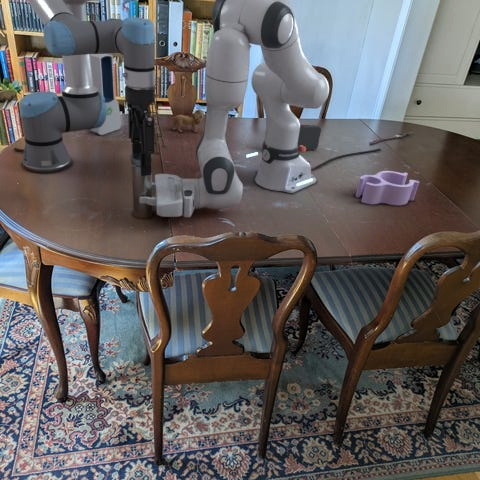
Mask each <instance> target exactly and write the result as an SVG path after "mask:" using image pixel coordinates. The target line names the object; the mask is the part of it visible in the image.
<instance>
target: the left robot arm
mask: <svg viewBox="0 0 480 480" xmlns="http://www.w3.org/2000/svg"><path fill="white" fill-rule="evenodd" d="M26 1H27V2H28V4H29V5H30V7H31V9H32V10H33V11H34V13H35V14H36V16H37V17H38V18H39V20H40V21H41V23H42V25H43V39H44V43H45V45H46V49H47V51H48V52H49V53H50V54H51V55H52V56H61V57H62V64H63V72H64V80H65V81H64V82H65V84H64V86H63V87H62V88H61V95H58V94H57V93H56V92H54V91H43V90H41V91H36V92H32V93H28V94H26V95H24V96H23V97H21V99H20V100H19V103H18V104H19V116H20V119H21V125H22V132H23V137H24V148H17V147H14V149H13V150H14V151H16V152H20V153H22V158H21V159H22V160H21V161H22V166H23V168H24V169H25V170H27V171H29V172H33V173H39V174H46V173H56V172H61V171H63V170H66V169H67V168H69V167H70V166H71V163H72V159H71V155H70V153H69V151H68V150H67V149H68V148H67V147H66V145H65V143H64V140H63V134H64V133H71V132H81V131H87V130H88V131H89V130H91V129H94V128H99V127H101V126H102V125H103V124H104V122H105V119H106V113H107V108H106V103H105V98H104V96H103V95H102V94H101V93H99V92H98V88H97V87H96V86H95V85H94V84H93V79H92V68H91V58H90V54H120V55H123V73H122V75H121V76H122V77H123V79H124V84H125V86H124V100H125V102H126V106H127V115H128V117H127V119H128V121H127V122H128V125H127V126H128V139H129V140H130V142H131V151H132V152H131V153H132V154H133V153H137V152H139V154H140V159H141V176H147V175H151V155H154V154H156V147H155V144H154V143H155V136H154V121H156V119H155V117H150V116H152V113H150V112H151V110H150V106H151V105H150V104H152V103H154V102H156V98H155V94H156V90H155V88H154V87H153V86H155V83H156V82H155V81H156V80H155V79H156V78H155V77H156V76H155V74H156V71H155V69H156V68H155V67H156V34H155V24H154V22H153V21H152V20H150V19H148V18H144V17H132V16H131V17H126V18H124V19H121V18H114V17H110V18H107V19H105V20H88V16H87V7H86V6H87V5H86V4H87V3H88V1H89V0H26ZM139 142H140V143H139ZM132 154H131V155H132Z"/></svg>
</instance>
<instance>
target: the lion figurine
mask: <svg viewBox="0 0 480 480" xmlns="http://www.w3.org/2000/svg"><path fill="white" fill-rule="evenodd" d="M204 116H205V112H204V110H202V109H199V108H198V109H196V110H195V111H194V112H193V113H191V114H190V115H183V114H178V115H175V117H174V118H173V119H172V124H171V127H170V128H169V131H172V130H176V129H177V130H178V132H179V133H183V130H182V129H181V127H182V124H184V125H186V126H190V129H191V131H193V133H197V132H198V131H197V130H196V129H197V125H200V124H201V123H202V122H203V120H204V118H205V117H204ZM176 126H177V128H176Z"/></svg>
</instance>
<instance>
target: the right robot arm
mask: <svg viewBox="0 0 480 480" xmlns="http://www.w3.org/2000/svg"><path fill="white" fill-rule="evenodd" d="M211 22H212V27H213V32H214V33H213V35H212V36H211V39H210V43H209V47H208V51H207V55H206V61H205V71H204V96H205V102H206V103H205V104H206V112H205V113H206V114H205V120H204V121H205V122H204V129H203V133H202V136H201V138H200V140H199V141H198V143H197V145H196V149H195V156H196V160H197V162H198V166H199V170H200V173H201V177H200V178H182V177H181V176H178V175H177V174H170V173H157V174H155V175H154V182H152V192H154V193H155V194H154V195H155V196H152V198H150V197H146V195H143V196H142V195H141V196H139V202H140V203H146V204H149V205H152V207H153V206H154V207H155V208H156V215H157V216H160V217H164V218H179V217H182V216H183V218H191V217H192V215H193V213H194V211H195V210H199V209H203V208H204V209H205V208H208V209H211V210H214V209H215V210H217V209H230V208H234V207H237V206H238V205H239V204H240V203H241V202H242V199H243V196H244V183H243V182H242V181H241V180H240V178H239V176H238V174H237V171H236V168H235V164H234V162H233V159H232V156H231V154H230V148H229V146H228V141H227V139H226V132H227V127H228V120H229V115H230V112H231V111H233V110H235V109H237V108H238V107H240V106H241V105H242V104H243V103H244V100H245V96H246V92H247V89H248V82H249V76H250V75H249V74H250V63H251V62H250V61H251V60H250V57H251V56H250V55H251V54H250V53H251V52H250V51H251V48H252V45H255V46H260V50H261V54H262V58H263V61H264V62H261V63H259V64H258V65H257V66H256V67H255V68H254V70H253V71H252V75H251V79H250V82H251V87H252V90H253V92H254V93H255V94H256V95H257V97H258V98H259V100H260V102H261V104H262V107H263V110H264V113H265V133H264V140H263V142H262V147H261V148H262V149H261V159H260V163H259V166H258V169H257V172H256V175H255V177H254V181H255V183H256V184H257V185H259V186H260V187H262V188H264V189H266V190H270V191H277V192H284V193H288V194H294V193H296V192H299V191H301V190H302V189H305V188H307V187H309V186H311V185H313V184H316V183H317V178H316V177H315V176H314V175H313V174H312V171H315V170H318V169H319V168H321V167H322V166H324V165H326V164H328V163H329V162H332V161H334V160H337V159H341V158H344V157H349V156H354V155H361V154H368V153H373V152H378V151H381V150H382V148H376V149H370V150H365V151H358V152H351V153H345V154H342V155H339V156H335V157H332V158H329V159H327V160H325V161H324V162H322V163H320V164H319V165H317V166H315V167H314V168H312V166H311V161H309V160H307V159H305V158H304V157H303V156H302V155H301V154H300V152H301V153H305V152H306V151H307V150H306V148H305V147H304V146H303V145H300V146H299V145H298V144H297V143H298V137H299V131H300V125H301V123H300V120H299V118H298V117H297V116H296V115H295V114H294V113H293V112H292V110H291V108H290V106H293V107H297V108H301V109H314V110H316V109H319V108H320V107H322V106H323V105H324V104H325V102H326V101H327V100H328V97H329V93H330V85H329V81H328V80H327V78H326V77H325V76H324V75H322V74H321V73H320V72H318V71H317V69H315V68H314V67H313V66H312V64H311V63H310V61H309V60H308V58H307V57H306V55H305V53H304V51H303V47H302V44H301V38H300V32H299V28H298V24H297V19H296V16H295V14H294V10H293V8H292V6H291V4H290V2H289V1H288V0H214V3H213V5H212V9H211ZM258 155H259V152H257V151H255V152H253V153H249V154H246V158H251V157H254V156H258Z"/></svg>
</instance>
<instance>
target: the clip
mask: <svg viewBox="0 0 480 480" xmlns="http://www.w3.org/2000/svg"><path fill="white" fill-rule="evenodd" d="M408 175H409V174H408V172H399V171H394V170H382V171H378V172H377V173H376V174H363V175H361V176H360V177H359V181H358V185H357V188H356V192H355V197H356V198H360V197H361V196H362V198H361V200H360V202H361V203H362V204H367V205H378V204H387V205H390V206H403V205H404V206H405V205H406V204H408V202H409V201H412V202H413V201H414V200H415V197H416V193H417V191H418V187H419V185H420V181H419V180H414V179H409V180H408V183H407V184H406V182H407V177H408Z"/></svg>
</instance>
